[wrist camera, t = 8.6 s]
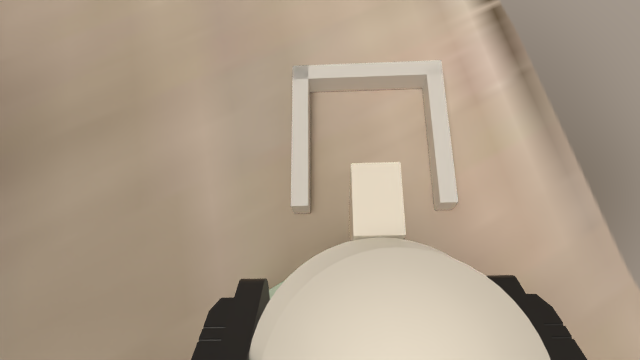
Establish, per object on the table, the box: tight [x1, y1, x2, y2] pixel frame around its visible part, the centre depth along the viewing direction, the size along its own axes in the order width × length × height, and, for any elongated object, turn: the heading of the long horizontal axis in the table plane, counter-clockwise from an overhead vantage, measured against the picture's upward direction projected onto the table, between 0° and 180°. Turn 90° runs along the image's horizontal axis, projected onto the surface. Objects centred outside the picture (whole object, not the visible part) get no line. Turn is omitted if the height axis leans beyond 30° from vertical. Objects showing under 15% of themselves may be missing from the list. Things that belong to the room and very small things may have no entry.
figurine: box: [249, 162, 550, 360], centre depth 12 cm, size 8×6×11 cm
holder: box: [291, 60, 458, 213], centre depth 32 cm, size 11×11×2 cm
